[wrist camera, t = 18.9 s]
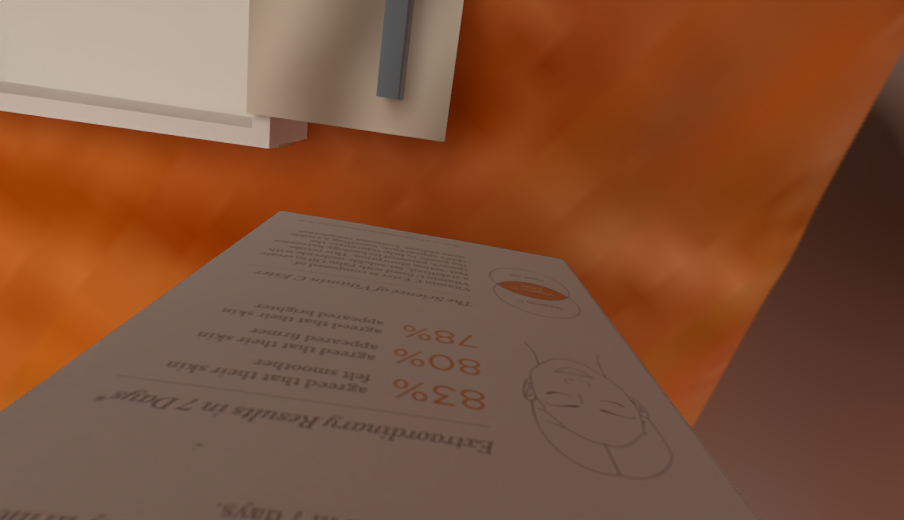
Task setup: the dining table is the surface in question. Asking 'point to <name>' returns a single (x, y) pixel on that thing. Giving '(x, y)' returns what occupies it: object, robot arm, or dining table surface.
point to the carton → (136, 67)
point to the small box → (360, 396)
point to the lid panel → (355, 63)
